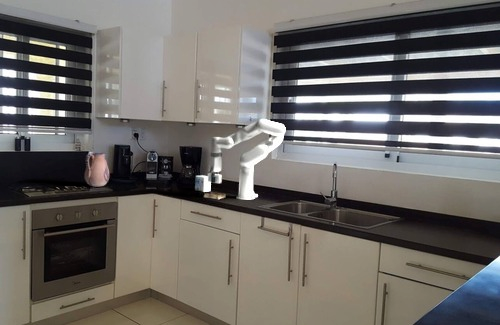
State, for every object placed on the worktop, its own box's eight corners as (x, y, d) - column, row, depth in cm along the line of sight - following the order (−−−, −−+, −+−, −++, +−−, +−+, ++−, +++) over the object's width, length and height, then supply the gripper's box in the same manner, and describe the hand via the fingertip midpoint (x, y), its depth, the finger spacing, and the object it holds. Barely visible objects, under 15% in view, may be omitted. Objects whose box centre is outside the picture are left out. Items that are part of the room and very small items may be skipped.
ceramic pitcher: (113, 184, 317) (113, 152, 315) (100, 188, 296) (100, 154, 294) (91, 183, 319) (91, 151, 317) (77, 187, 298) (77, 153, 296)
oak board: (225, 197, 284) (225, 193, 284) (218, 199, 275) (218, 195, 275) (211, 195, 289) (212, 191, 288) (204, 197, 280) (204, 193, 279)
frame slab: (221, 182, 281) (221, 174, 280) (218, 183, 277) (219, 175, 277) (210, 181, 284) (210, 173, 284) (207, 181, 281) (207, 173, 281)
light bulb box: (194, 189, 309) (195, 175, 308) (201, 189, 313) (202, 175, 312) (203, 192, 301) (204, 177, 300) (210, 191, 306) (211, 176, 305)
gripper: (217, 154, 288) (216, 180, 290) (204, 155, 273) (203, 182, 275) (227, 155, 285) (225, 181, 286) (214, 156, 270) (213, 183, 272)
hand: (214, 181), depth 281 cm, fingers closed on frame slab, 3 cm apart
